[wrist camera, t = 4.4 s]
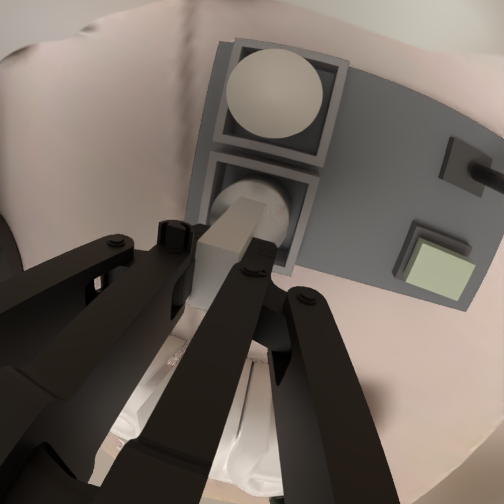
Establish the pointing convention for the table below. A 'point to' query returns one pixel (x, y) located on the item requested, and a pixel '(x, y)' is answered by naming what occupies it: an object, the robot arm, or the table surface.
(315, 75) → the white button
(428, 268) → the rocker switch
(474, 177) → the toggle lever
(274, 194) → the metal button
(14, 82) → the table surface
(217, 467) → the white wavy slab sculpture
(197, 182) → the switch panel
